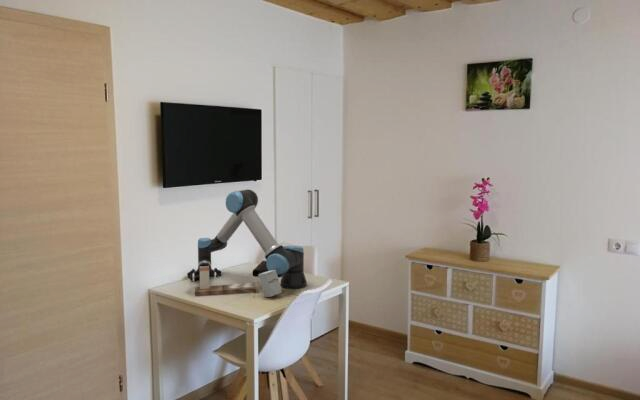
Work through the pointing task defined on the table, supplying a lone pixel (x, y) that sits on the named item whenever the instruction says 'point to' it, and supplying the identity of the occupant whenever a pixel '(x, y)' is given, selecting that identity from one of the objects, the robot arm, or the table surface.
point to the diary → (262, 269)
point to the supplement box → (270, 283)
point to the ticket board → (227, 289)
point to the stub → (204, 277)
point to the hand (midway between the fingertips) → (204, 278)
